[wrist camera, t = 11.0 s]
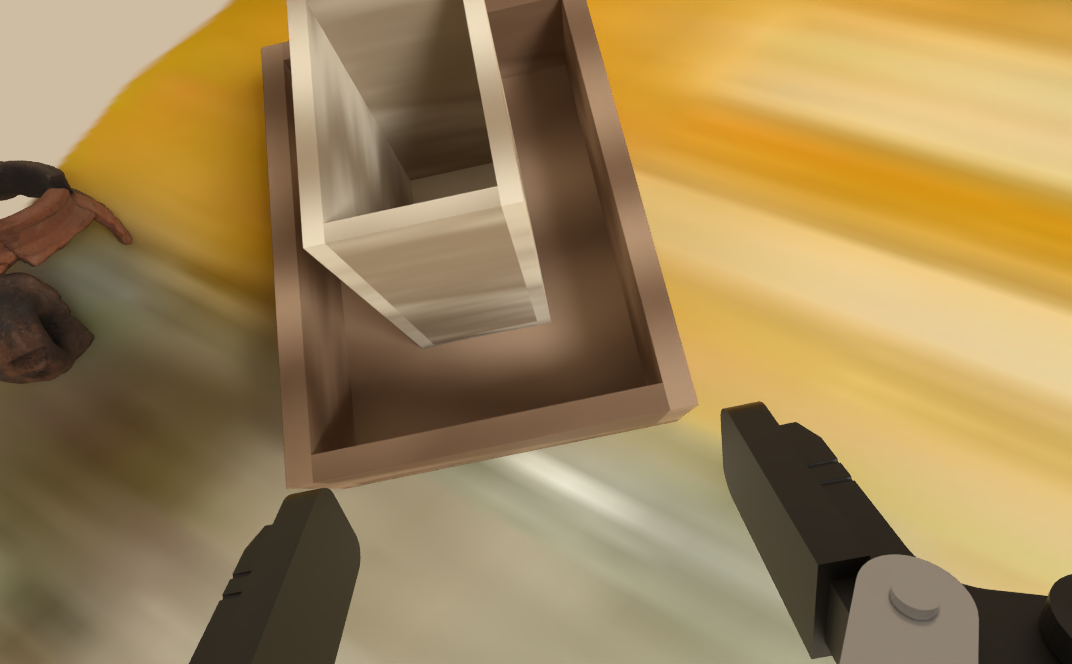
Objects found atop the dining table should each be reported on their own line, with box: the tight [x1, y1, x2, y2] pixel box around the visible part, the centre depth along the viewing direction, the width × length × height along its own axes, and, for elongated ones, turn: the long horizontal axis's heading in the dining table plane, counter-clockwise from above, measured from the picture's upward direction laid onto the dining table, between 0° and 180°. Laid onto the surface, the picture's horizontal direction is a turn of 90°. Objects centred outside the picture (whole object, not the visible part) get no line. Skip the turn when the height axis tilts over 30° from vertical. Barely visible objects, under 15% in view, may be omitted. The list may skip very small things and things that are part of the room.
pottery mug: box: [0, 161, 132, 383], centre depth 26 cm, size 12×10×8 cm
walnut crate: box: [261, 0, 699, 489], centre depth 25 cm, size 20×15×5 cm
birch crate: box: [287, 0, 551, 348], centre depth 21 cm, size 9×6×11 cm, turn 11°
